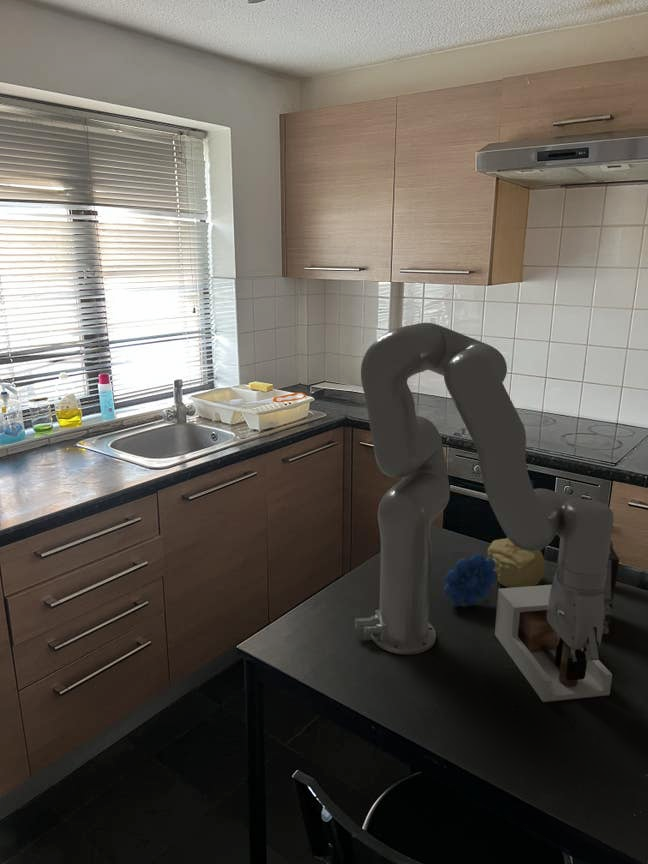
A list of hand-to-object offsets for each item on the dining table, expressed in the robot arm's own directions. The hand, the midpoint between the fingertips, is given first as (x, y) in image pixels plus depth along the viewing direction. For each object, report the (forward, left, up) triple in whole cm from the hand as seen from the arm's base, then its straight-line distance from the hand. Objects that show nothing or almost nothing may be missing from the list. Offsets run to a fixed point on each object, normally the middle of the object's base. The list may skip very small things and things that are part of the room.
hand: (569, 670), depth 110 cm
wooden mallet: (0, +7, -2) cm, 7 cm away
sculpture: (+7, +36, -4) cm, 37 cm away
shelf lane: (0, +7, -3) cm, 8 cm away
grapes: (-7, +29, -3) cm, 30 cm away
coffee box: (+15, +19, -3) cm, 24 cm away
